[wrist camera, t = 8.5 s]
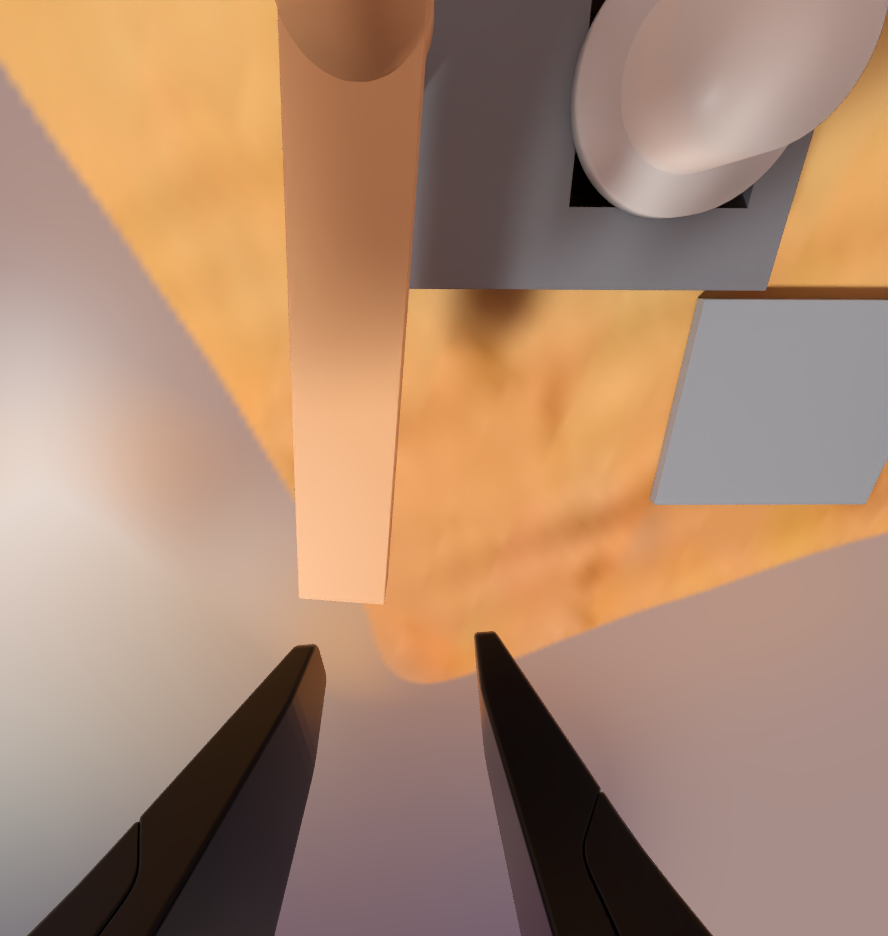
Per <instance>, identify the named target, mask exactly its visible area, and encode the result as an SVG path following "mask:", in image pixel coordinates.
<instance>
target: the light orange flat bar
mask: <svg viewBox="0 0 888 936" xmlns="http://www.w3.org/2000/svg"><path fill="white" fill-rule="evenodd" d="M275 1H276V4H277V8H278V32H279V60H280V87H281V115H282V142H283V170H284V197H285V225H286V252H287V280H288V307H289V335H290V362H291V390H292V418H293V445H294V473H295V500H296V528H297V553H298V554H297V555H298V583H299V598H304V599H318V600H331V601H344V602H357V603H371V604H384V600H385V593H386V586H387V579H388V568H389V555H390V541H391V527H392V514H393V500H394V487H395V473H396V459H397V446H398V432H399V418H400V405H401V391H402V378H403V364H404V350H405V337H406V323H407V309H408V296H409V282H410V268H411V255H412V241H413V228H414V214H415V200H416V187H417V173H418V159H419V146H420V132H421V119H422V105H423V91H424V78H425V64H426V57H427V55H428V52H429V49H430V45H431V40H432V35H433V27H434V0H275Z"/></svg>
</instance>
